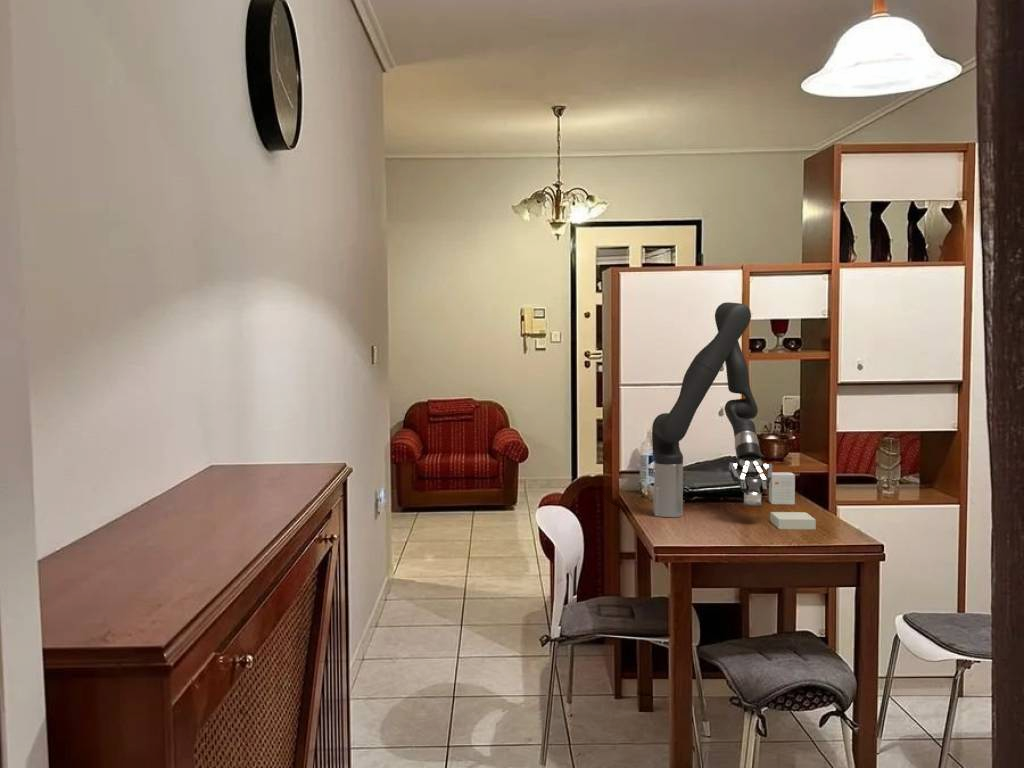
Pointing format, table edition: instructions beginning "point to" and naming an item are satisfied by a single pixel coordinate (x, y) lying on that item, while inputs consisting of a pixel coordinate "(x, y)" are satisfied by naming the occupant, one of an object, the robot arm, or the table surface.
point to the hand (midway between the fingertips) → (754, 491)
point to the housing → (753, 491)
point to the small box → (782, 488)
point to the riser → (793, 520)
